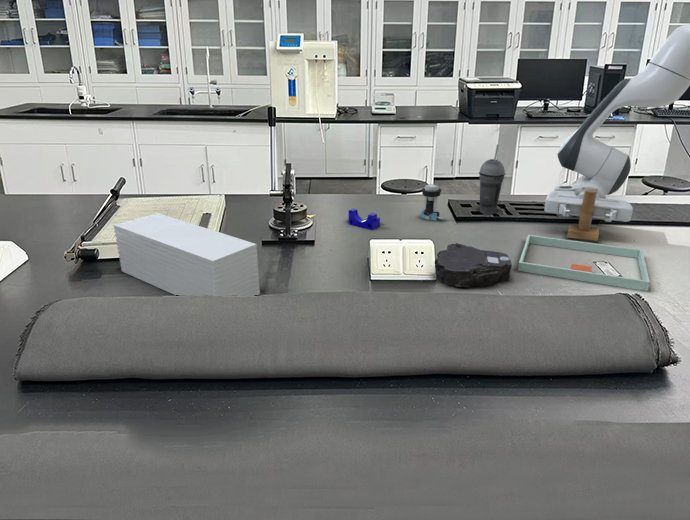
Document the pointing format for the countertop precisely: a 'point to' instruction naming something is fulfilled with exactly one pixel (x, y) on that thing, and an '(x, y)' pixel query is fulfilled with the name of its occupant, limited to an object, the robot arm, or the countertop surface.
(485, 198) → the beverage cup
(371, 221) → the cable holder
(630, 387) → the countertop surface
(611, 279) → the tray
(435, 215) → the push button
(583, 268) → the felt chip
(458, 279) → the rock sample
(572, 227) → the brush
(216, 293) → the stack of papers
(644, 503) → the countertop surface
